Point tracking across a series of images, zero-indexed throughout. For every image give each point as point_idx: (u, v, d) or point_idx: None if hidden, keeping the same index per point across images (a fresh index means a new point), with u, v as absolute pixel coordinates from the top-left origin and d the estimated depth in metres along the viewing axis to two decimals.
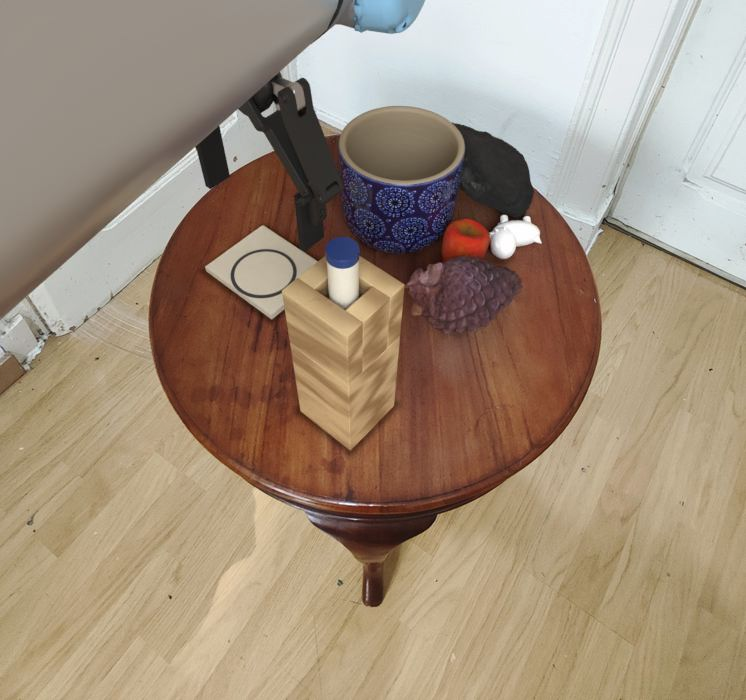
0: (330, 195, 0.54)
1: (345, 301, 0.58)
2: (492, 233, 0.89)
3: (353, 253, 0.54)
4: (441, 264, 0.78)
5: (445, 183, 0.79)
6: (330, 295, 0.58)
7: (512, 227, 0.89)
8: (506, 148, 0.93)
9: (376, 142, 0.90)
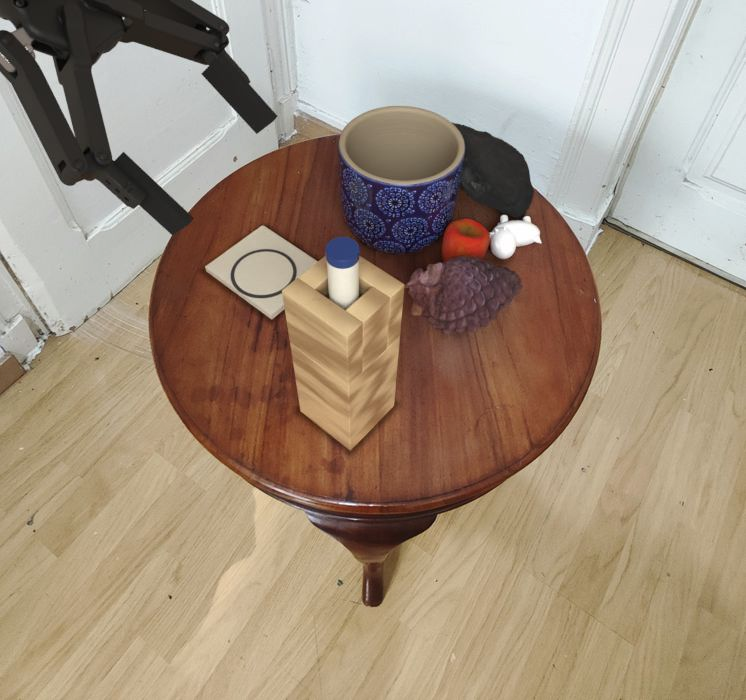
0: None
1: (345, 301, 0.58)
2: (492, 233, 0.89)
3: (353, 253, 0.54)
4: (441, 264, 0.78)
5: (445, 183, 0.79)
6: (330, 295, 0.58)
7: (512, 227, 0.89)
8: (506, 148, 0.93)
9: (376, 142, 0.90)
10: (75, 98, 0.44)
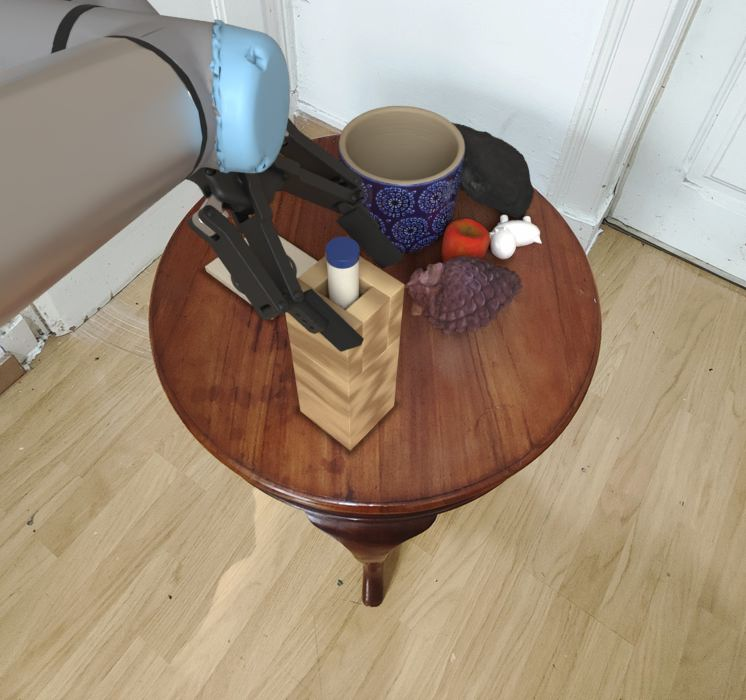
0: None
1: (345, 301, 0.58)
2: (492, 233, 0.89)
3: (353, 253, 0.54)
4: (441, 264, 0.78)
5: (445, 183, 0.79)
6: (330, 295, 0.58)
7: (512, 227, 0.89)
8: (506, 147, 0.93)
9: (376, 142, 0.90)
10: (263, 247, 0.50)
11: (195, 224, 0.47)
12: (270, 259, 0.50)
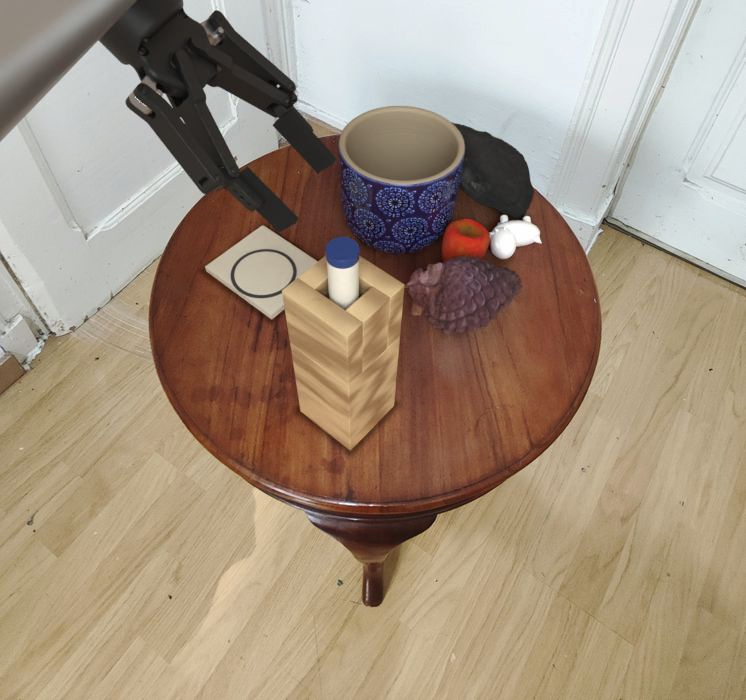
0: None
1: (345, 301, 0.58)
2: (492, 233, 0.89)
3: (353, 253, 0.54)
4: (441, 264, 0.78)
5: (445, 183, 0.79)
6: (330, 295, 0.58)
7: (512, 227, 0.89)
8: (506, 148, 0.94)
9: (376, 142, 0.90)
10: (199, 127, 0.55)
11: (132, 102, 0.52)
12: (206, 138, 0.55)
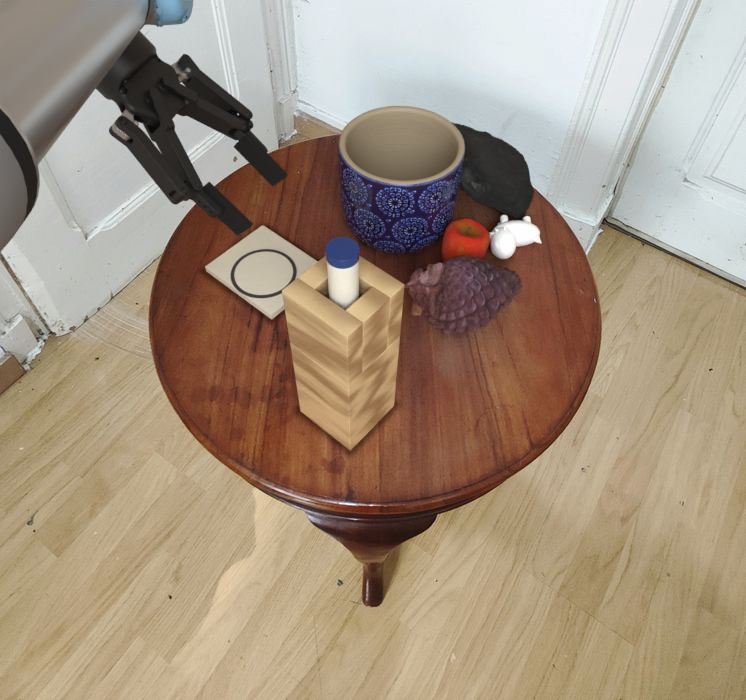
0: None
1: (345, 301, 0.58)
2: (492, 233, 0.89)
3: (353, 253, 0.54)
4: (441, 264, 0.78)
5: (445, 183, 0.79)
6: (330, 295, 0.58)
7: (512, 227, 0.89)
8: (506, 147, 0.94)
9: (376, 142, 0.90)
10: (169, 150, 0.68)
11: (114, 131, 0.64)
12: (175, 159, 0.68)
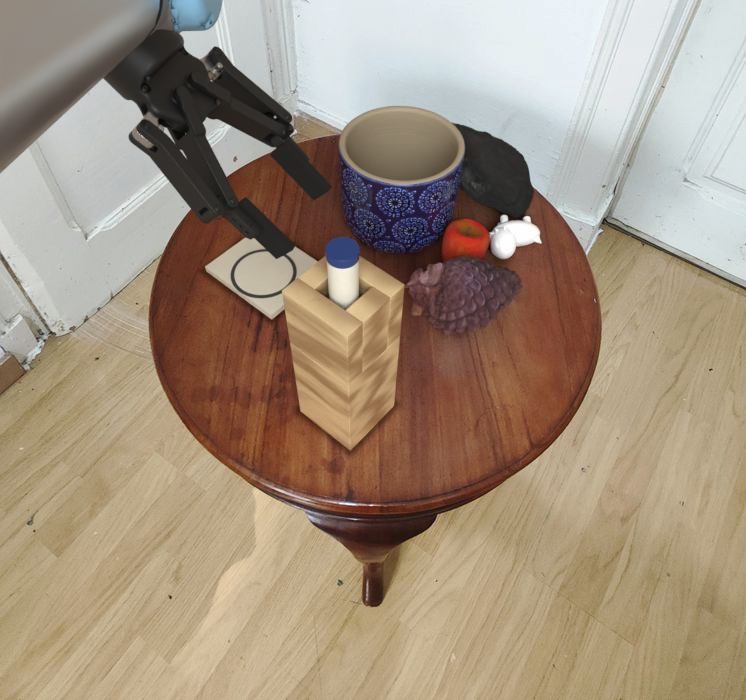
0: None
1: (345, 301, 0.58)
2: (492, 233, 0.89)
3: (353, 253, 0.54)
4: (441, 264, 0.78)
5: (445, 183, 0.79)
6: (330, 295, 0.58)
7: (512, 227, 0.89)
8: (506, 147, 0.94)
9: (376, 142, 0.90)
10: (199, 160, 0.57)
11: (135, 137, 0.54)
12: (206, 170, 0.57)
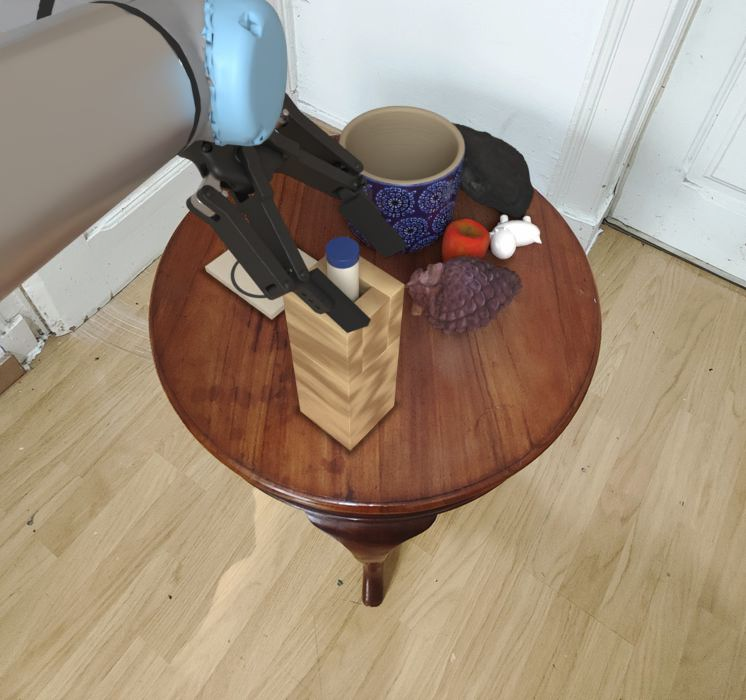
0: None
1: None
2: (492, 233, 0.89)
3: (353, 253, 0.54)
4: (441, 264, 0.78)
5: (445, 183, 0.79)
6: None
7: (512, 227, 0.89)
8: (506, 147, 0.94)
9: (376, 142, 0.90)
10: (266, 227, 0.49)
11: (194, 205, 0.46)
12: (273, 239, 0.49)
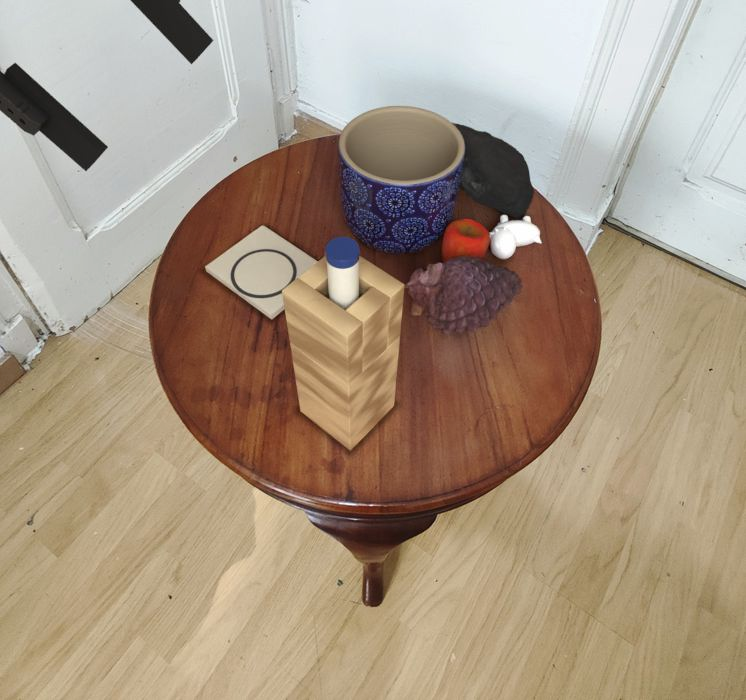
0: None
1: (345, 301, 0.58)
2: (492, 233, 0.89)
3: (353, 253, 0.54)
4: (441, 264, 0.78)
5: (445, 183, 0.79)
6: (330, 295, 0.58)
7: (512, 227, 0.89)
8: (506, 147, 0.94)
9: (376, 142, 0.90)
10: None
11: None
12: None
